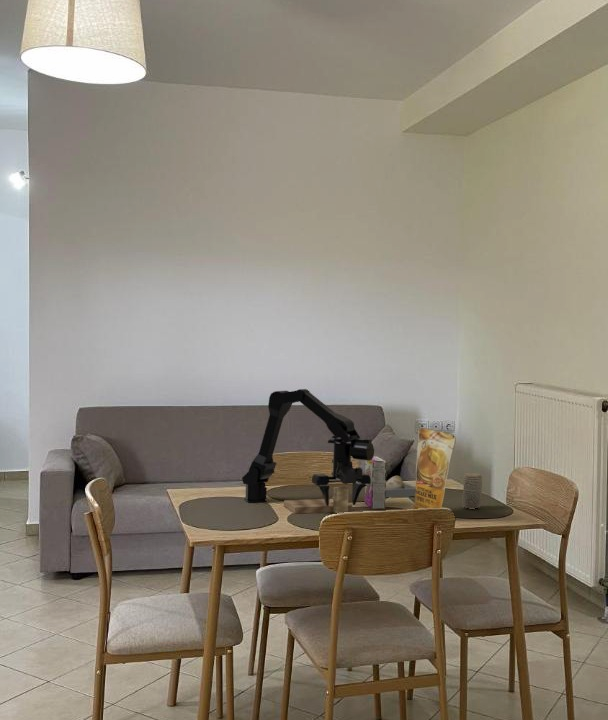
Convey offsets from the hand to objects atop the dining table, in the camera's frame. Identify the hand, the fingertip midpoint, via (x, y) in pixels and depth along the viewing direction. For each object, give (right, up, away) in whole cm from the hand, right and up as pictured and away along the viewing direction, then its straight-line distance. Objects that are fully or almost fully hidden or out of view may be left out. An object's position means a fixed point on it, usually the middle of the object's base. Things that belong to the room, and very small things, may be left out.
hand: (340, 505), depth 273 cm
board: (-7, -2, +6) cm, 10 cm away
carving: (+46, -4, +15) cm, 48 cm away
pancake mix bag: (+29, -4, +1) cm, 29 cm away
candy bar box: (+12, -3, +14) cm, 19 cm away
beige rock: (+20, -3, +36) cm, 41 cm away
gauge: (-1, -2, +3) cm, 4 cm away
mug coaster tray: (+21, -2, +38) cm, 43 cm away
